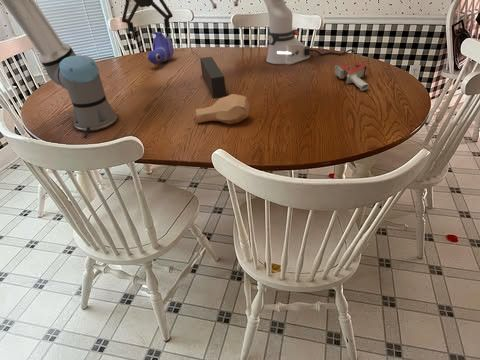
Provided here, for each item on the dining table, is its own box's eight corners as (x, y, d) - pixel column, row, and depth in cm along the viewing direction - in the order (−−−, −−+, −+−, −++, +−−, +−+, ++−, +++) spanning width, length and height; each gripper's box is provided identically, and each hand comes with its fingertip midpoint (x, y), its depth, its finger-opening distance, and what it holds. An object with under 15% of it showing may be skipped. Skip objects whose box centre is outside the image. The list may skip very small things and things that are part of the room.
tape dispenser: (364, 96, 143) (378, 76, 155) (367, 83, 139) (381, 65, 152) (323, 87, 150) (339, 69, 163) (324, 75, 147) (341, 57, 159)
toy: (162, 64, 198) (141, 70, 176) (157, 31, 191) (135, 33, 169) (178, 63, 196) (160, 69, 173) (174, 30, 189) (154, 32, 167)
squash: (253, 125, 125) (249, 104, 119) (198, 134, 127) (191, 114, 121) (250, 107, 133) (246, 86, 126) (198, 116, 134) (192, 96, 128)
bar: (225, 96, 147) (224, 76, 142) (213, 97, 146) (211, 78, 141) (213, 74, 169) (211, 56, 164) (202, 75, 168) (200, 58, 163)
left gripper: (172, -24, 140) (180, 32, 153) (107, -19, 137) (121, 38, 150) (173, -22, 134) (181, 36, 147) (105, -16, 131) (120, 43, 144)
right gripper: (245, -33, 149) (246, 3, 158) (197, -29, 146) (201, 8, 154) (249, -32, 144) (250, 6, 153) (199, -27, 141) (203, 11, 149)
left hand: (151, 37), depth 149 cm, fingers open, 13 cm apart
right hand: (225, 7), depth 153 cm, fingers open, 8 cm apart
